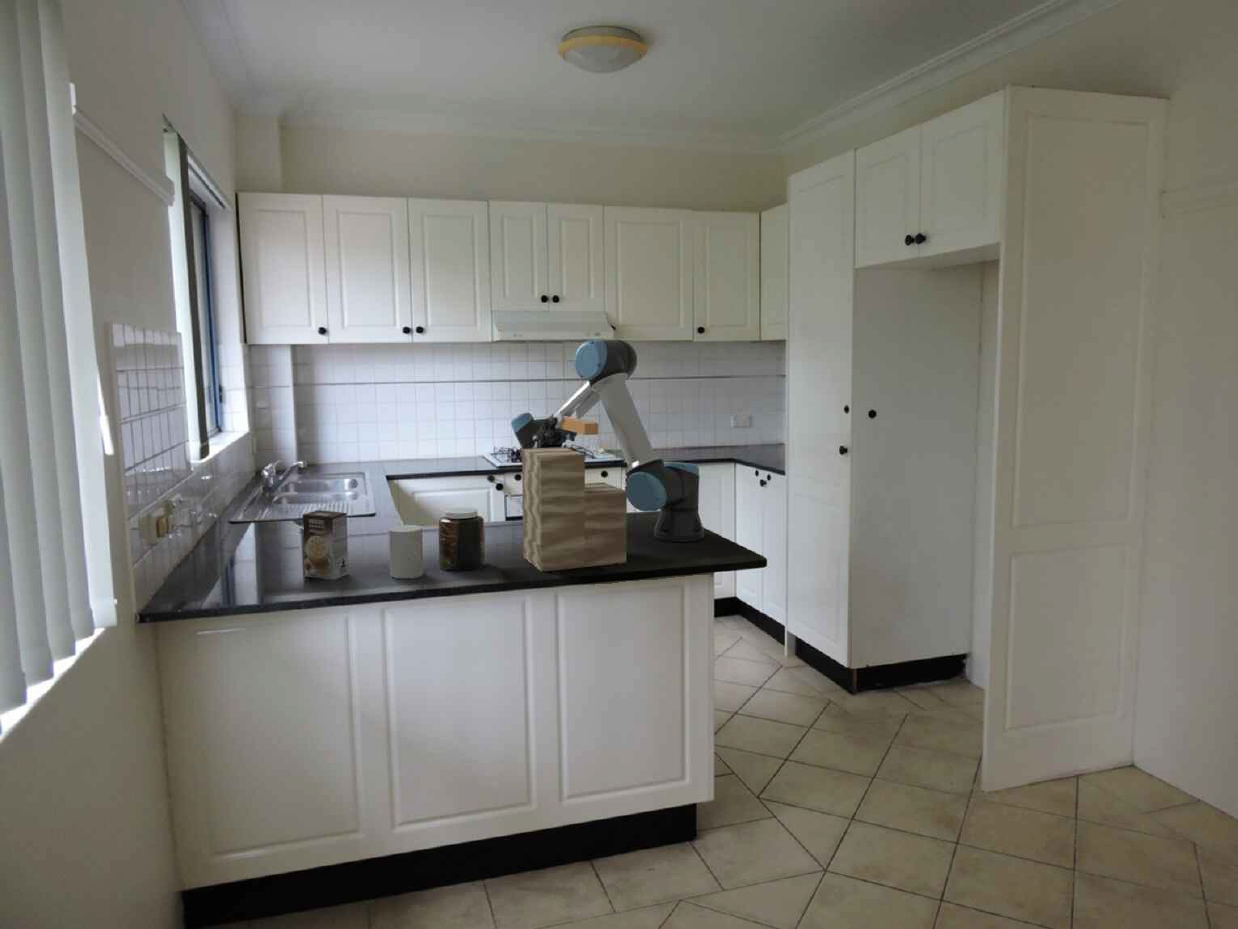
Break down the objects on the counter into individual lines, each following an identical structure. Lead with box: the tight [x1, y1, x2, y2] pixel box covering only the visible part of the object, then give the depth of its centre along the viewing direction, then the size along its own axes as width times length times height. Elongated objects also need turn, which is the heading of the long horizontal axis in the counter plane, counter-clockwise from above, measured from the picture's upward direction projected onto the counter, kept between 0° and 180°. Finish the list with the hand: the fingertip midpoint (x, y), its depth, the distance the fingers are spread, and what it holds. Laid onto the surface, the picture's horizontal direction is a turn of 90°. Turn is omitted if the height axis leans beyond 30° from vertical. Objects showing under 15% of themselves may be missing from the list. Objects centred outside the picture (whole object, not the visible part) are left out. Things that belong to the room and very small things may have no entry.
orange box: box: [553, 416, 599, 436], centre depth 242 cm, size 26×4×3 cm, turn 23°
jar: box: [437, 507, 486, 572], centre depth 223 cm, size 12×12×15 cm
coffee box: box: [302, 509, 349, 581], centre depth 213 cm, size 9×6×16 cm
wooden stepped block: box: [520, 446, 628, 572], centre depth 229 cm, size 17×24×30 cm
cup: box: [388, 524, 424, 579], centre depth 214 cm, size 8×8×12 cm
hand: (569, 414), depth 245 cm, fingers closed on orange box, 4 cm apart
